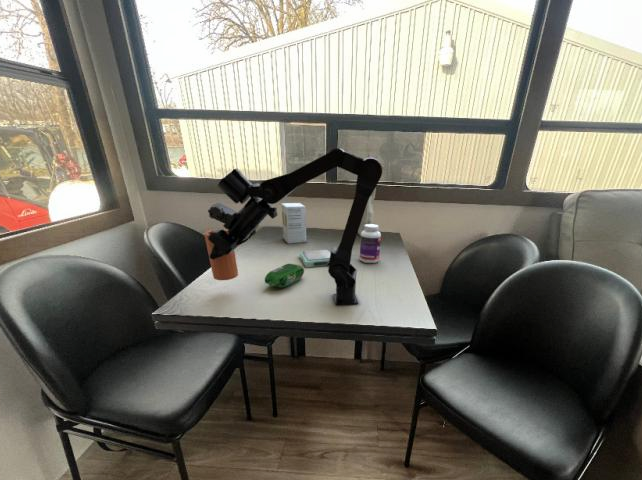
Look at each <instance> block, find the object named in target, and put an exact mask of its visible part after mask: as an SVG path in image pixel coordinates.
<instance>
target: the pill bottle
mask: <svg viewBox="0 0 642 480" xmlns="http://www.w3.org/2000/svg"><path fill="white" fill-rule="evenodd" d="M364 229H365V230H364V231H362V232H361V236H360V242H359V243H360V244H359V247H360V248H359V260H360V261H361V262H362V263H366V264H375V263H378V262H379V261H380V253H381V239H382V234H381V232H380V231H379V225H378V224H365V225H364Z"/></svg>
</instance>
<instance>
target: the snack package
mask: <svg viewBox="0 0 642 480" xmlns="http://www.w3.org/2000/svg"><path fill="white" fill-rule="evenodd" d="M304 273H305V269H304V267H303V266H302V265H300V264H295V263H286V264H284V265H281V266H280V267H277V268H275V269H273V270H271V271H269V272H268V273H267V274H266V275H265V276H264V283H265V284H268V285H269V286H271V287H276V288H287V287H288V286H291V285H292V284H294V283H296V282H297V281H300V280H301V279H302V278H303V276H304Z"/></svg>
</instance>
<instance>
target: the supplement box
mask: <svg viewBox="0 0 642 480" xmlns="http://www.w3.org/2000/svg"><path fill="white" fill-rule="evenodd" d="M281 217H282V234H283V235H282V236H283V239H284V241H285V242H286V243H287V244H299V243H308V242H307V207H306V205H304V204H302V203H301V202H283V203H281Z"/></svg>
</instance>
